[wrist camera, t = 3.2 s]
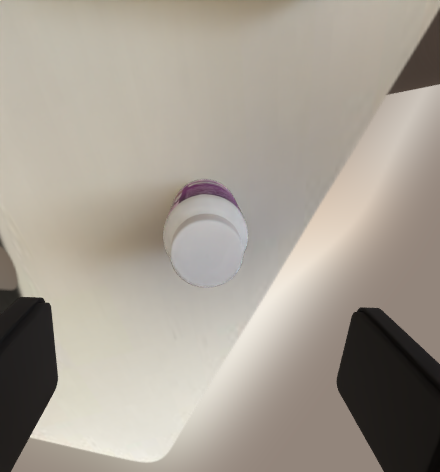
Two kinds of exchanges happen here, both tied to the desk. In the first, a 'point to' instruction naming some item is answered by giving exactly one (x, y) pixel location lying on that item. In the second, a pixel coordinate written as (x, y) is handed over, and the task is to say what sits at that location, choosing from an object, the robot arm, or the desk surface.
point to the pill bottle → (205, 234)
